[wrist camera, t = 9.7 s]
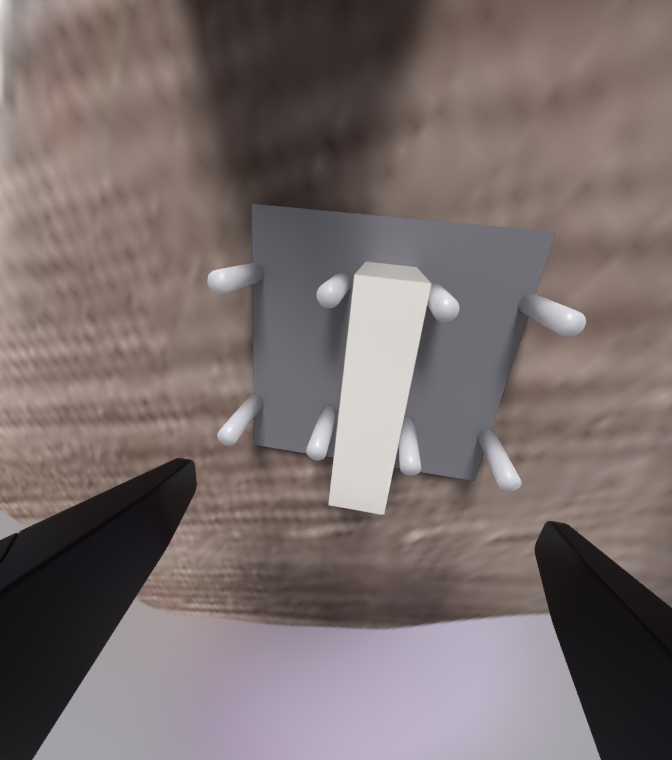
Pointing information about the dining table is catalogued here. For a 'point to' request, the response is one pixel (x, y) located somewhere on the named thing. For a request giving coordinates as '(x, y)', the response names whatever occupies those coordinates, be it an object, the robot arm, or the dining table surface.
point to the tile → (376, 381)
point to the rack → (437, 342)
